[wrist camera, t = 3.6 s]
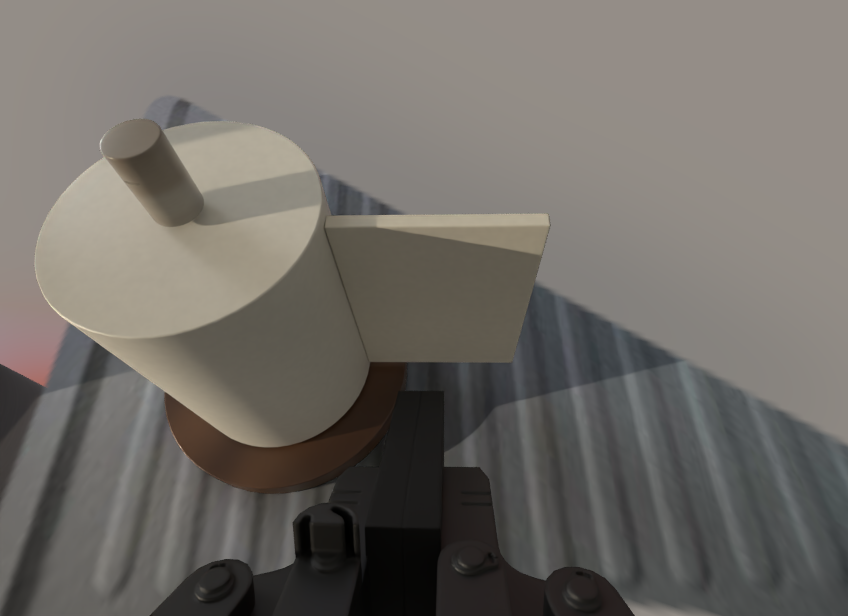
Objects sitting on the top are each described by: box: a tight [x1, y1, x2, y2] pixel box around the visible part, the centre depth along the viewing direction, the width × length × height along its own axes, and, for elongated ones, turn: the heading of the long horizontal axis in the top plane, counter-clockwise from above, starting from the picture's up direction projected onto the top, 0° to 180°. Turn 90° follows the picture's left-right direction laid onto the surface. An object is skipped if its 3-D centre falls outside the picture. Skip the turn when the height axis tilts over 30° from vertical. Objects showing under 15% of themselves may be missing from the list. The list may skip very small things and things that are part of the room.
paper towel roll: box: [35, 121, 551, 447], centre depth 22 cm, size 18×10×12 cm, turn 72°
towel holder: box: [100, 119, 407, 494], centre depth 22 cm, size 14×14×18 cm
